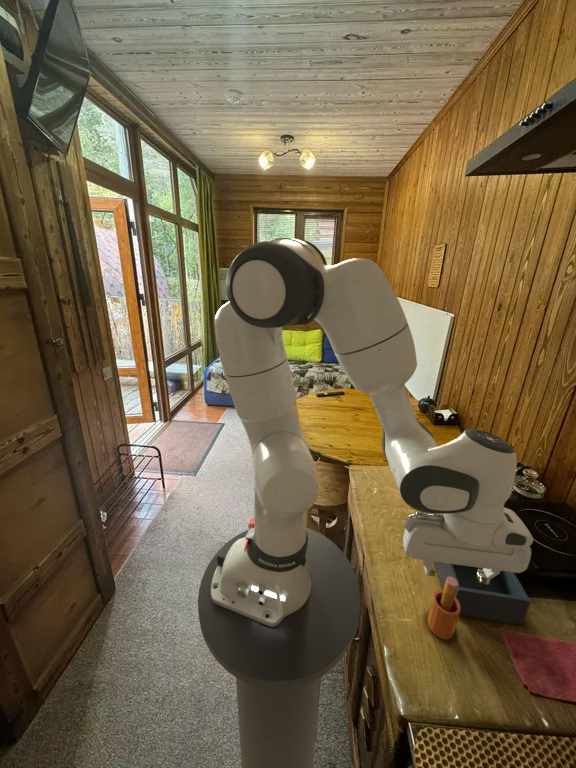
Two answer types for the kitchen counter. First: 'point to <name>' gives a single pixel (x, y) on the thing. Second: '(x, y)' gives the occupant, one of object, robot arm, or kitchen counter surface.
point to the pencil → (449, 594)
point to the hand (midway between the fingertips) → (455, 576)
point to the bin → (487, 594)
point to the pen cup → (443, 617)
